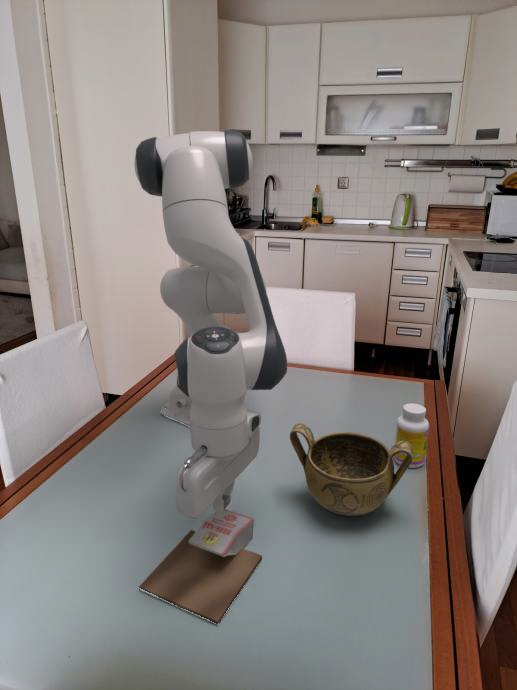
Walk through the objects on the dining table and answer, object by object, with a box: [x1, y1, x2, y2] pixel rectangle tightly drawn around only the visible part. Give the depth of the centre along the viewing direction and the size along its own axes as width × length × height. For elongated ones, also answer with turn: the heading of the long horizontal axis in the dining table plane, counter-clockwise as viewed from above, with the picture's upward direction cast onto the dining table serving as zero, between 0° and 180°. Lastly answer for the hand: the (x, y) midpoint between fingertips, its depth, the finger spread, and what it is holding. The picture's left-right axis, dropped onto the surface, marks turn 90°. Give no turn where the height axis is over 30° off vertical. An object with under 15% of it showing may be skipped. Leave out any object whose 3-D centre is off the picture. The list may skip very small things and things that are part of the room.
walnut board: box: [139, 529, 263, 624], centre depth 78 cm, size 14×14×1 cm
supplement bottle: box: [393, 402, 430, 469], centre depth 106 cm, size 7×7×13 cm
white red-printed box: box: [189, 508, 255, 557], centre depth 83 cm, size 4×7×10 cm
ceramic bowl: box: [289, 422, 413, 517], centre depth 93 cm, size 22×17×15 cm
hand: (222, 506), depth 81 cm, fingers closed
